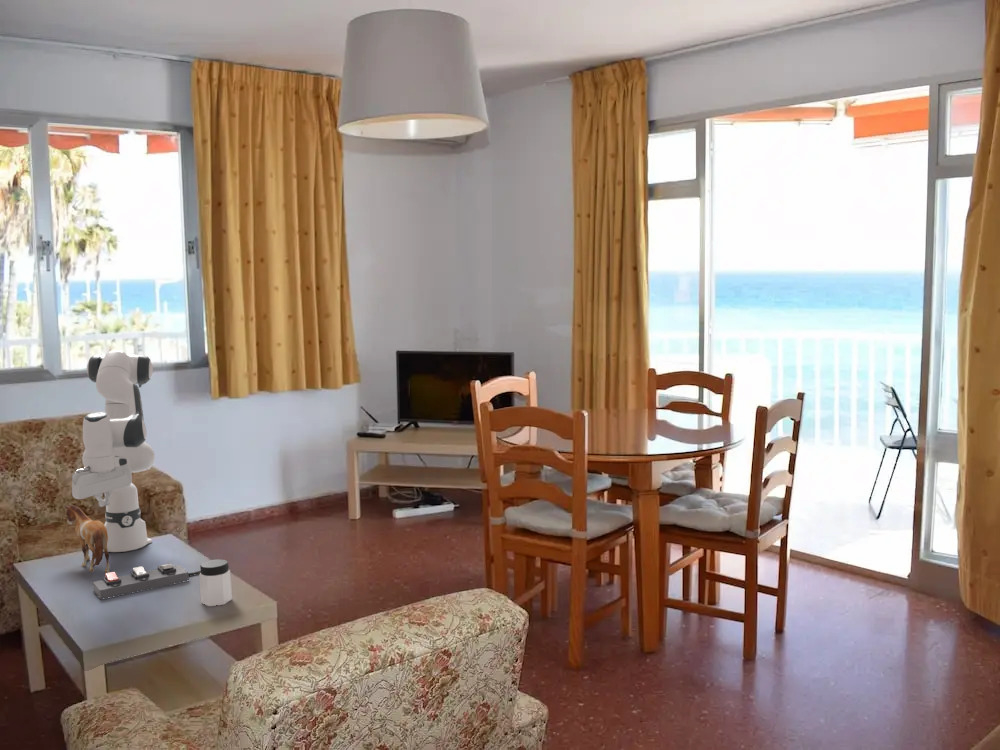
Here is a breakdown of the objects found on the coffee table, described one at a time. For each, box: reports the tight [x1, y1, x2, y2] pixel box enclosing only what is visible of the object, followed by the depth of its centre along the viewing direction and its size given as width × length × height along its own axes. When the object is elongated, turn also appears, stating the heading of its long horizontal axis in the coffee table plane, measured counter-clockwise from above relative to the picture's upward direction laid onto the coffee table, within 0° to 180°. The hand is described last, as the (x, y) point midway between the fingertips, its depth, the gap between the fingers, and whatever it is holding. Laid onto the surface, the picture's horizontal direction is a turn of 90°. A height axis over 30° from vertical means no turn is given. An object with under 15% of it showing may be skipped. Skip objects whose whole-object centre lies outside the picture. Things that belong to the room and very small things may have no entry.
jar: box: [198, 558, 233, 607], centre depth 281 cm, size 9×8×12 cm
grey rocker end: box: [159, 563, 174, 570], centre depth 303 cm, size 5×3×2 cm, turn 35°
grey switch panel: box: [92, 564, 201, 600], centre depth 299 cm, size 10×34×4 cm, turn 125°
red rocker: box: [104, 571, 119, 582], centre depth 293 cm, size 5×3×2 cm, turn 35°
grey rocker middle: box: [132, 566, 146, 576], centre depth 298 cm, size 5×3×2 cm, turn 35°
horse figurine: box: [64, 504, 111, 574], centre depth 316 cm, size 31×8×21 cm, turn 39°
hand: (104, 505), depth 298 cm, fingers closed
